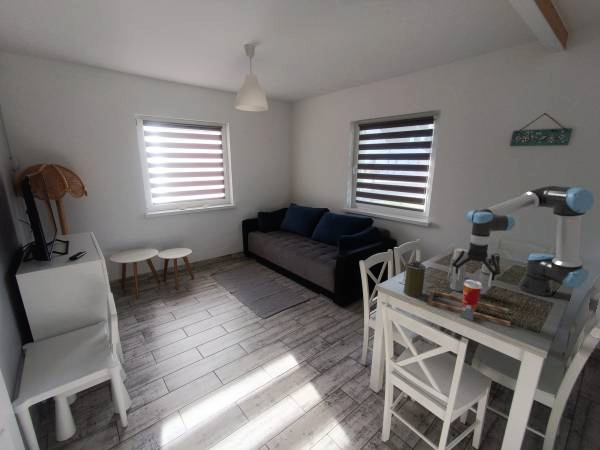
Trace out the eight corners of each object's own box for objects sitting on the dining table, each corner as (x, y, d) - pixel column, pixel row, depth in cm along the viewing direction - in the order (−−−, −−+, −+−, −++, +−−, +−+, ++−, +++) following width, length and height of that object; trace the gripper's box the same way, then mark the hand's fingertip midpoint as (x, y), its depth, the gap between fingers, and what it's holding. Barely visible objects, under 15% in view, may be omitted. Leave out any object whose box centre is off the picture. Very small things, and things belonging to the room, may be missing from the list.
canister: (423, 291, 158) (427, 260, 153) (421, 299, 149) (425, 265, 144) (404, 287, 163) (407, 256, 158) (401, 294, 154) (404, 262, 150)
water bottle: (461, 286, 164) (466, 248, 159) (465, 292, 157) (470, 252, 151) (444, 285, 167) (449, 247, 161) (448, 291, 159) (452, 251, 154)
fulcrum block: (473, 316, 132) (474, 306, 131) (472, 320, 129) (474, 310, 128) (461, 313, 135) (463, 303, 134) (460, 317, 132) (462, 307, 131)
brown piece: (507, 312, 136) (508, 308, 136) (509, 327, 124) (510, 322, 124) (432, 293, 156) (432, 289, 155) (427, 304, 144) (427, 299, 143)
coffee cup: (461, 303, 145) (465, 277, 142) (478, 308, 140) (483, 282, 137) (458, 309, 139) (462, 283, 135) (476, 315, 134) (481, 287, 130)
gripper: (510, 245, 127) (503, 285, 132) (451, 237, 141) (446, 274, 146) (511, 249, 121) (503, 291, 126) (449, 241, 135) (444, 279, 140)
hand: (473, 282), depth 136 cm, fingers open, 13 cm apart
